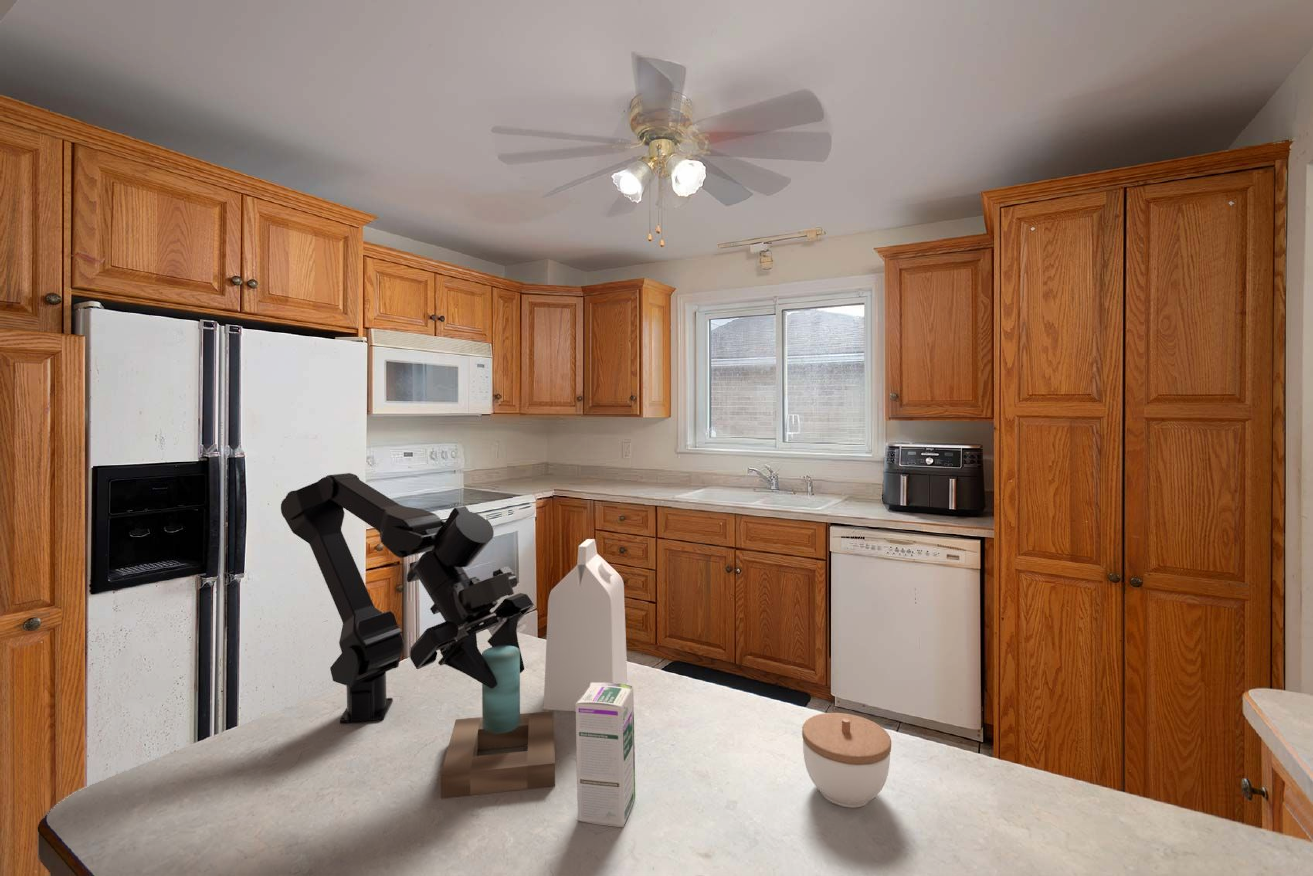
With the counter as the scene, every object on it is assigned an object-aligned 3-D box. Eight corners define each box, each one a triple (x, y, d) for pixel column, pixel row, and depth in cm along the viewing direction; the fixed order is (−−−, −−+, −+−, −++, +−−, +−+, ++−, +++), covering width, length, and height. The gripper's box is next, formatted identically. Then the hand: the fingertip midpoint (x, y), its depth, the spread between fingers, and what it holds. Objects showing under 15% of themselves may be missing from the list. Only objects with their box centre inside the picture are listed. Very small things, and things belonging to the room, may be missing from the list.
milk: (564, 677, 112) (563, 534, 111) (627, 681, 111) (627, 536, 110) (543, 709, 100) (542, 549, 99) (613, 714, 99) (613, 552, 98)
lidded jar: (889, 777, 82) (890, 707, 82) (891, 829, 72) (893, 749, 71) (805, 762, 86) (806, 695, 85) (796, 809, 75) (797, 733, 75)
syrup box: (624, 829, 72) (624, 706, 71) (575, 822, 73) (574, 701, 72) (635, 798, 77) (635, 684, 77) (590, 792, 79) (589, 680, 78)
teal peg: (475, 724, 85) (474, 652, 85) (506, 711, 89) (506, 642, 88) (495, 737, 82) (495, 662, 81) (527, 723, 85) (527, 652, 85)
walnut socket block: (456, 739, 91) (455, 719, 91) (552, 730, 94) (552, 711, 94) (441, 798, 77) (440, 774, 77) (555, 785, 80) (554, 763, 80)
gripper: (424, 567, 78) (490, 671, 73) (523, 539, 94) (583, 624, 90) (383, 618, 82) (443, 720, 77) (485, 583, 98) (540, 666, 94)
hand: (508, 678), depth 84 cm, fingers closed on teal peg, 5 cm apart
